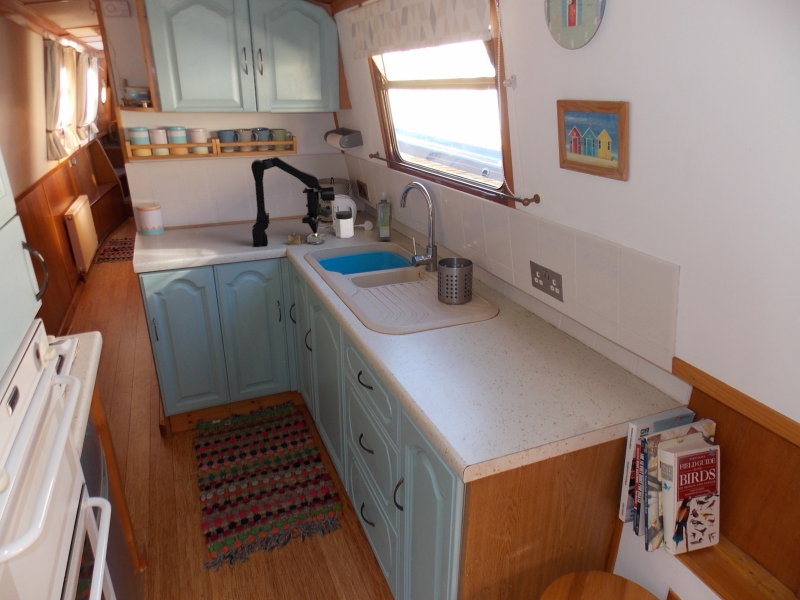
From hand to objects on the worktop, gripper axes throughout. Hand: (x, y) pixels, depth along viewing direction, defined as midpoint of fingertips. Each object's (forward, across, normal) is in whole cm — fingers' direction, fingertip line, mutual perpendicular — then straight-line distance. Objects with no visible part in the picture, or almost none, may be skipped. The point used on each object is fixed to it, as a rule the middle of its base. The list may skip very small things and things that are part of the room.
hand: (315, 233), depth 275 cm
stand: (+4, -6, +9) cm, 11 cm away
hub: (+4, -2, -1) cm, 5 cm away
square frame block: (+3, -2, -1) cm, 4 cm away
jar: (+4, +12, -12) cm, 17 cm away
